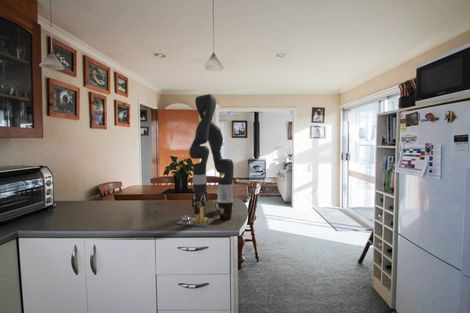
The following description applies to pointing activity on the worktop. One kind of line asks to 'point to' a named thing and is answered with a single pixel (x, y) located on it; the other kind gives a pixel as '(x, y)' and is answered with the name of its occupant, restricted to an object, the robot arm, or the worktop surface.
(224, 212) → the coffee mug
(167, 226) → the worktop surface
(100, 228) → the worktop surface
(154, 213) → the worktop surface
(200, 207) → the planet gear
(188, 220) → the carrier
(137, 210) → the worktop surface
